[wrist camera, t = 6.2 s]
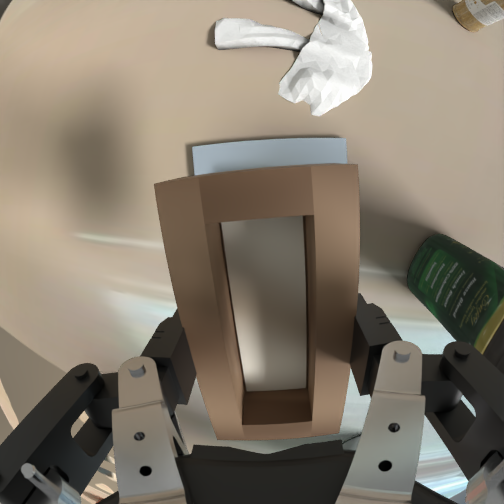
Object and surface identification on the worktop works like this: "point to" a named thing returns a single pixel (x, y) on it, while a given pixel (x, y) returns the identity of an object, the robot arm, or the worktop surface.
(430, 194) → the worktop surface
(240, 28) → the cloth
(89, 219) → the worktop surface
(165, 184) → the frame
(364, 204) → the worktop surface
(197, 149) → the panel
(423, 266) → the coffee jar
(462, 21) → the sprinkles bottle
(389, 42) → the worktop surface
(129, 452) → the robot arm
